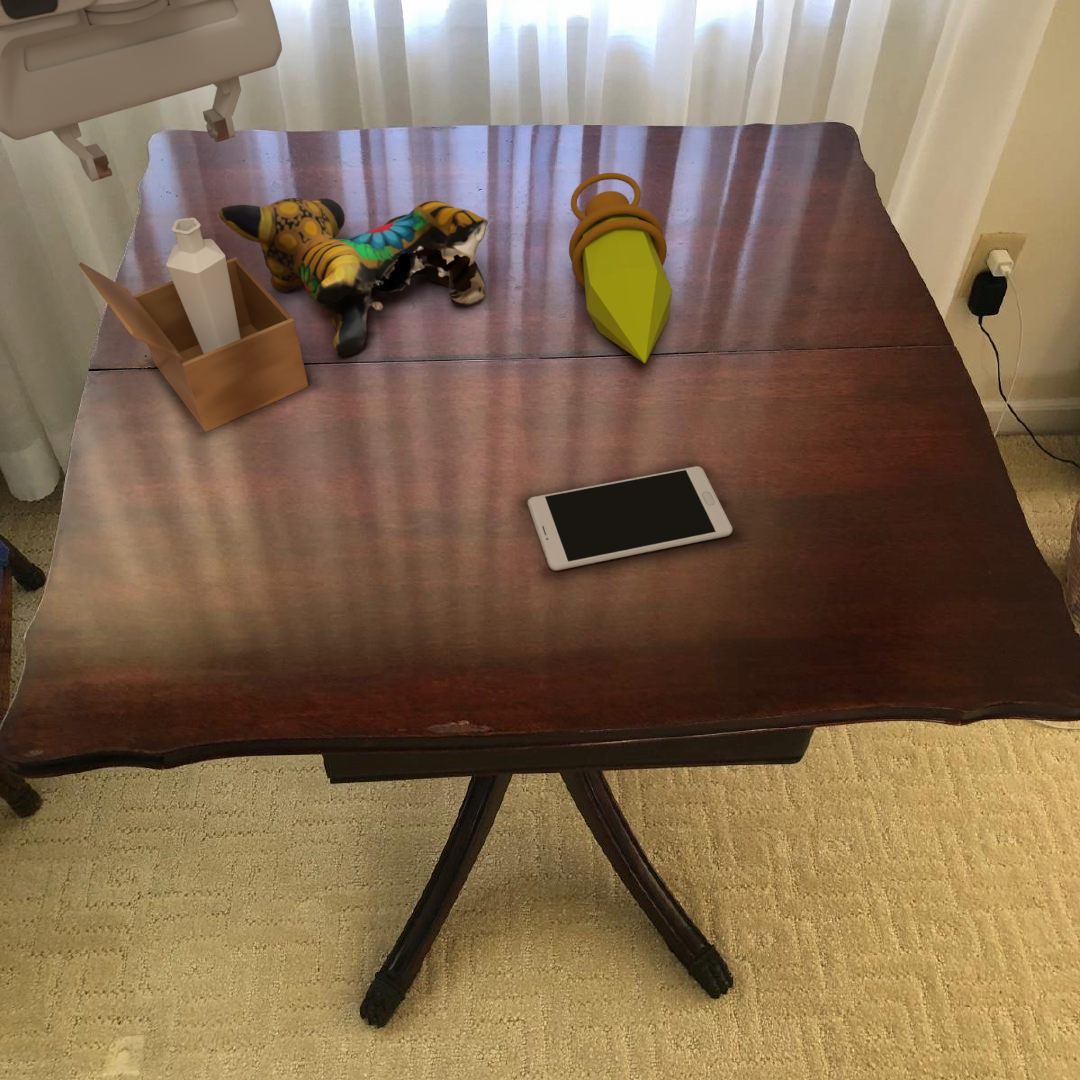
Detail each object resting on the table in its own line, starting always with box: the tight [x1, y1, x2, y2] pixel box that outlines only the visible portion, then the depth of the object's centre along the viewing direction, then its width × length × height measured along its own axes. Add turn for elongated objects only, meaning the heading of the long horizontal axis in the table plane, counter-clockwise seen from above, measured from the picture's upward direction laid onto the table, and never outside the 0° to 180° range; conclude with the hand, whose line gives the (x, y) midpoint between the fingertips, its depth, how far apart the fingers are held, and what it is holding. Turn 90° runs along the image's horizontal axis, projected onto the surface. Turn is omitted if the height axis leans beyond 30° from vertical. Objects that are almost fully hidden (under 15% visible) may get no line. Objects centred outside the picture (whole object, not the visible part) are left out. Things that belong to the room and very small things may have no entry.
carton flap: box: [78, 262, 181, 361], centre depth 78 cm, size 5×11×1 cm
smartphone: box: [527, 465, 733, 572], centre depth 78 cm, size 8×1×15 cm
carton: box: [132, 256, 309, 433], centre depth 86 cm, size 10×11×7 cm
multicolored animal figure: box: [218, 197, 488, 357], centre depth 93 cm, size 20×12×18 cm
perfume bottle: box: [165, 217, 241, 354], centre depth 82 cm, size 5×4×15 cm
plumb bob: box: [568, 172, 673, 364], centre depth 93 cm, size 9×9×25 cm
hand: (162, 155), depth 72 cm, fingers open, 8 cm apart
